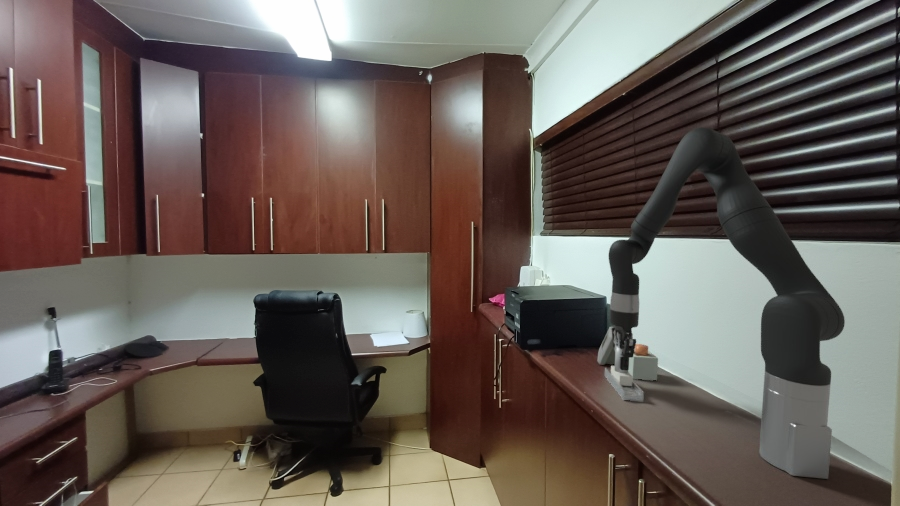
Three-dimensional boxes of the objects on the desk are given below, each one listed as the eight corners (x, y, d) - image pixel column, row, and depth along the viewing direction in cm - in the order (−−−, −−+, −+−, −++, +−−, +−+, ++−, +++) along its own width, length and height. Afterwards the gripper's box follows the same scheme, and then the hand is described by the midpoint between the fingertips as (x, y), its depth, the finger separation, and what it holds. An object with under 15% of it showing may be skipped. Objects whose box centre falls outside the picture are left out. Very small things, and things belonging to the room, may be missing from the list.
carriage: (632, 386, 102) (634, 352, 102) (619, 385, 103) (620, 351, 102) (622, 375, 110) (624, 343, 110) (610, 374, 111) (611, 342, 110)
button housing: (656, 380, 111) (658, 358, 111) (632, 379, 112) (633, 356, 112) (647, 372, 118) (648, 350, 118) (624, 370, 119) (625, 349, 118)
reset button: (649, 357, 113) (650, 348, 112) (637, 356, 113) (637, 347, 113) (645, 353, 116) (645, 344, 116) (633, 353, 117) (633, 343, 116)
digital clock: (600, 351, 138) (601, 324, 138) (626, 356, 133) (627, 328, 133) (588, 363, 125) (589, 333, 125) (616, 369, 120) (618, 337, 119)
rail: (643, 401, 96) (643, 391, 96) (623, 400, 97) (623, 390, 97) (621, 377, 113) (621, 368, 113) (604, 376, 114) (604, 367, 114)
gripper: (648, 314, 98) (644, 377, 99) (629, 304, 112) (626, 359, 113) (618, 313, 99) (615, 375, 100) (603, 303, 113) (601, 358, 114)
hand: (621, 366), depth 106 cm, fingers closed on carriage, 3 cm apart
